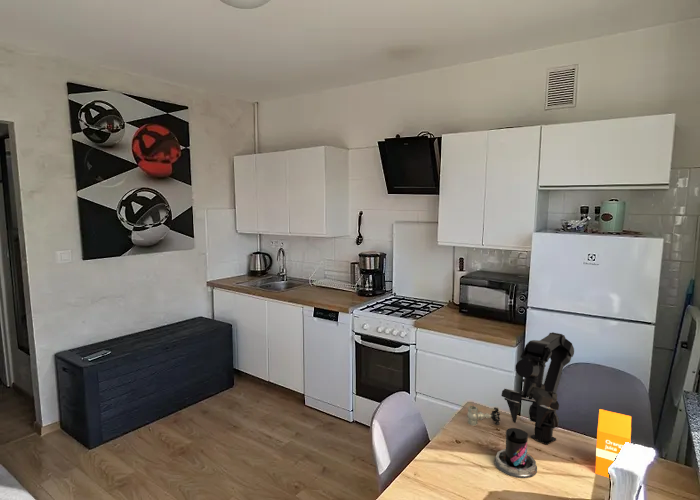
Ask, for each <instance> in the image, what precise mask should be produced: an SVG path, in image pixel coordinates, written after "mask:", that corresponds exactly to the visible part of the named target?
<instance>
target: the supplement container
mask: <svg viewBox="0 0 700 500" xmlns="http://www.w3.org/2000/svg"><path fill="white" fill-rule="evenodd" d="M528 435H529V434H528V432H527V431H525V430H523V429H520V428H516V427H509V428H508V429H506V430H505V449H506V450H505V461H506V463H507V464H508V465H509V466H511V467H513V468H518V469H521V468H524V467H525V466H526V465H527V454H528V441H529V440H528V438H529V436H528Z"/></svg>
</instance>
